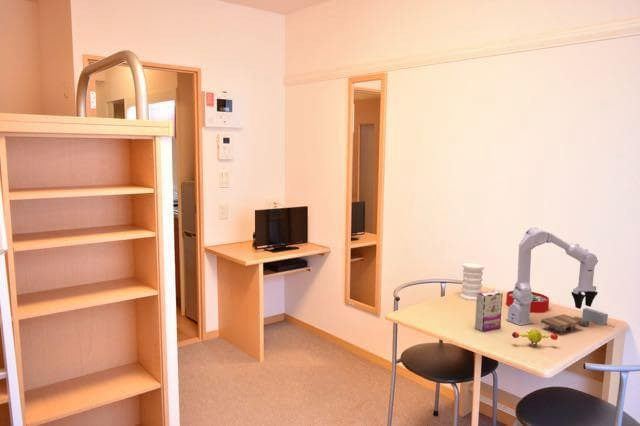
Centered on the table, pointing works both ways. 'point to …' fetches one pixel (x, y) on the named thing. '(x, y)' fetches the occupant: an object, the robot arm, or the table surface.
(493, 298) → the candy bar box
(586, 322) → the roller
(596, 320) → the block
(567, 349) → the table surface
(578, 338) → the table surface
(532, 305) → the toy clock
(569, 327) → the roller
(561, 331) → the roller
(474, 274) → the decorative container
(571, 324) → the slab
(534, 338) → the toy figure
